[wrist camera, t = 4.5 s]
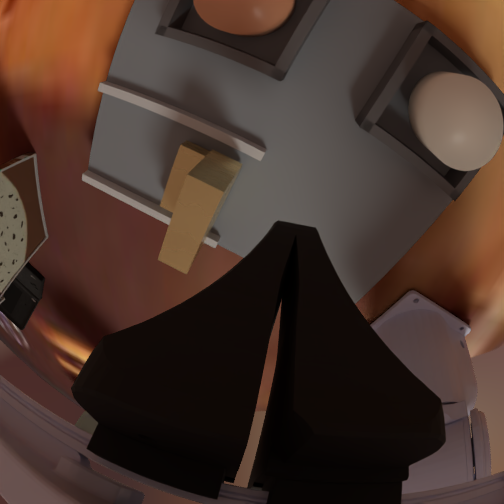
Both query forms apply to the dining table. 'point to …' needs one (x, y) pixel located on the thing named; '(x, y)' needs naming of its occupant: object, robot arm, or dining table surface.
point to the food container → (19, 217)
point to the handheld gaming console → (23, 296)
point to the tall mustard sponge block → (194, 201)
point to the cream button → (456, 119)
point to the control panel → (285, 124)
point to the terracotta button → (246, 15)
